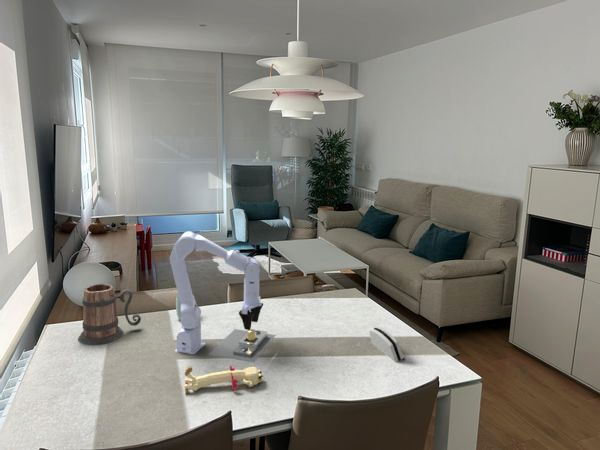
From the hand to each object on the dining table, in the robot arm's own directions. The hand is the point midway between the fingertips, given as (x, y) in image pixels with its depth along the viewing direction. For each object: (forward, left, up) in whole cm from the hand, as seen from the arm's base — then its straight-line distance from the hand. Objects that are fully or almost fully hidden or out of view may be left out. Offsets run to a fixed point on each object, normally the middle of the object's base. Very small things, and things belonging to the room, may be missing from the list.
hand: (251, 325), depth 171 cm
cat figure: (-29, -3, -9) cm, 30 cm away
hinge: (+13, -50, -9) cm, 52 cm away
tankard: (-8, +57, -9) cm, 58 cm away
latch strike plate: (0, 0, -9) cm, 9 cm away
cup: (+16, +37, -9) cm, 41 cm away
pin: (0, 0, -8) cm, 8 cm away
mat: (0, +3, -9) cm, 9 cm away
